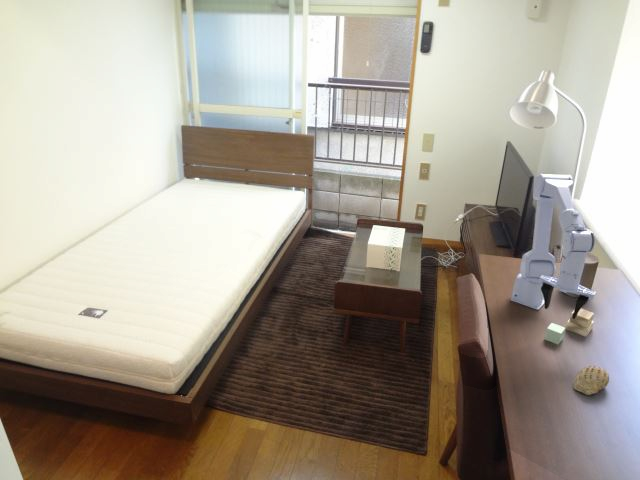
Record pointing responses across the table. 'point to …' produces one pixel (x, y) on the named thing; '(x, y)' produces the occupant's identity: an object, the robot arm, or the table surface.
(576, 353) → the table surface
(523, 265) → the robot arm
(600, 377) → the seashell
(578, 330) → the base slab
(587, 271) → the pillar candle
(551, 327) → the sage cube
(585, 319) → the beige square block
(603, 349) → the table surface
